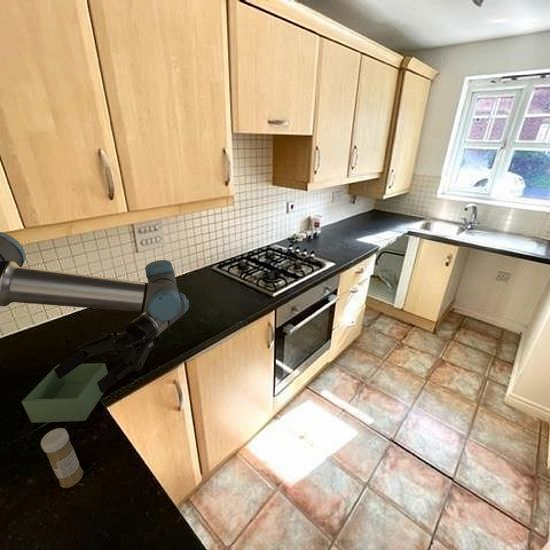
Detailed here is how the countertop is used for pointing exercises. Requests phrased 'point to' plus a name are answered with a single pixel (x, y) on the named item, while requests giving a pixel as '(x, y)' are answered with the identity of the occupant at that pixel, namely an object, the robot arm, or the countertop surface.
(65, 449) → the sprinkles bottle
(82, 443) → the countertop surface
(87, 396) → the bin
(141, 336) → the robot arm
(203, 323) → the countertop surface
